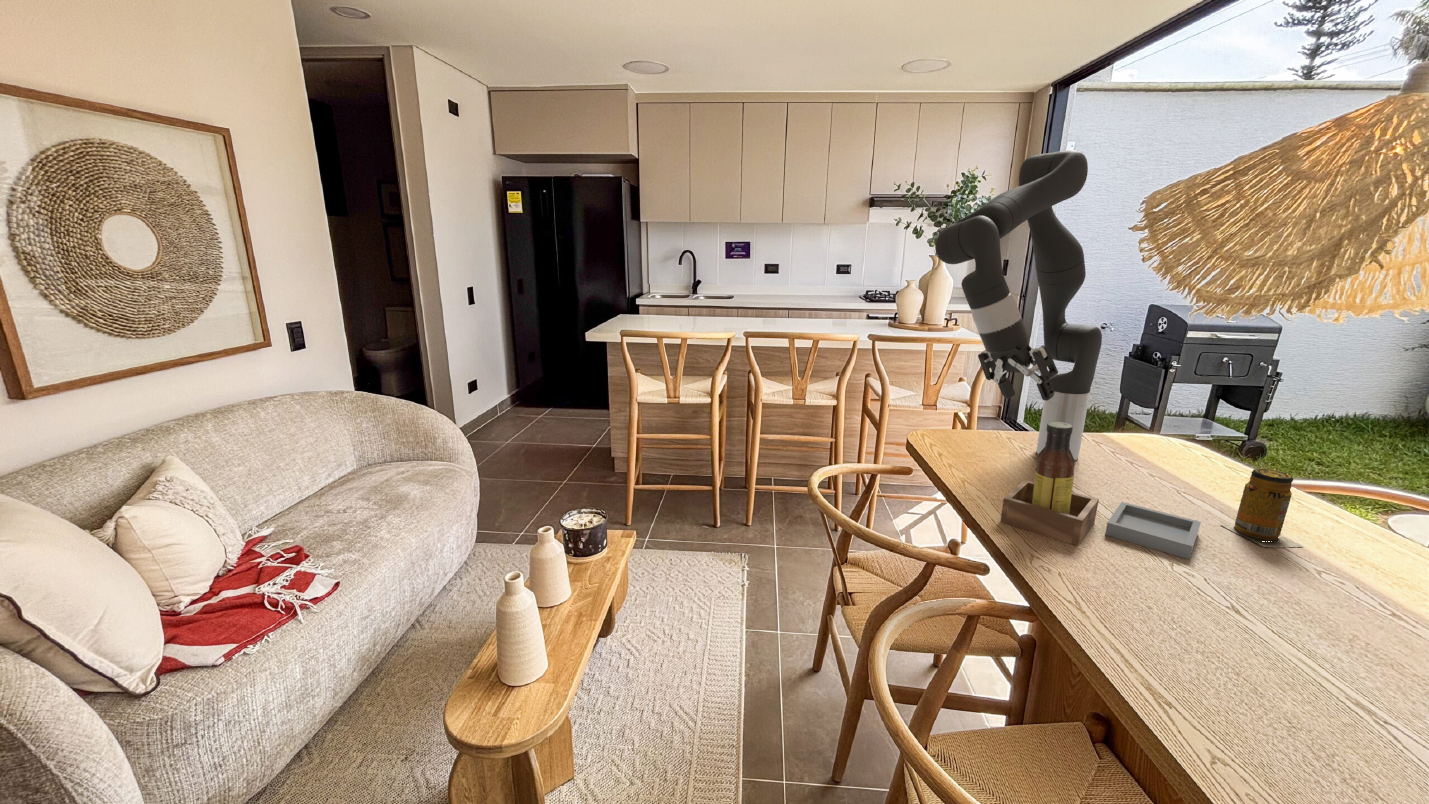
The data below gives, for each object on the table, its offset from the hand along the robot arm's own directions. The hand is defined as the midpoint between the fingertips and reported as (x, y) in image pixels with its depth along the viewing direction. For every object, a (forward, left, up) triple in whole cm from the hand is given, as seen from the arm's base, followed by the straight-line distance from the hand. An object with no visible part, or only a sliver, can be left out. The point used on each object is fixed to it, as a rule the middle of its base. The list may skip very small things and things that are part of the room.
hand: (1028, 397), depth 105 cm
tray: (-7, +22, -24) cm, 33 cm away
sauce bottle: (+1, +7, -24) cm, 25 cm away
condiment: (-20, +36, -24) cm, 47 cm away
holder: (+1, +7, -24) cm, 25 cm away
